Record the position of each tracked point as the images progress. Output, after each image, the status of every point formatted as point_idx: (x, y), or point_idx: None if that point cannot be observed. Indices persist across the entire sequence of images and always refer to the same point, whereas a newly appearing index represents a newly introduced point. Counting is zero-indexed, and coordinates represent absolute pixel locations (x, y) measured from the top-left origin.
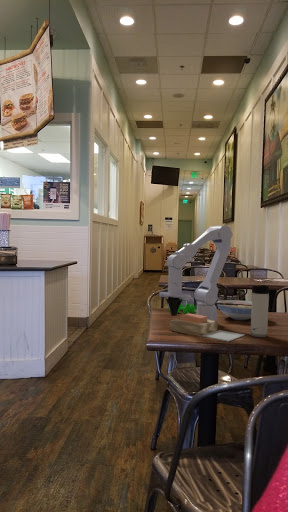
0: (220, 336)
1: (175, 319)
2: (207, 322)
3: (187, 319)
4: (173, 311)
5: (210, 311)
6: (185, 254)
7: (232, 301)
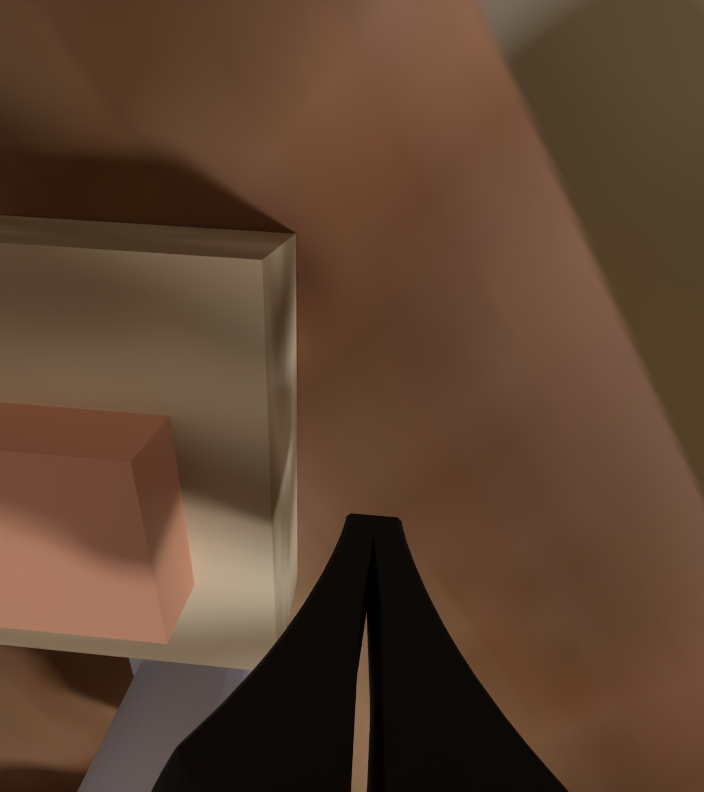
0: None
1: (244, 394)
2: None
3: (23, 417)
4: (340, 557)
5: None
6: None
7: None
